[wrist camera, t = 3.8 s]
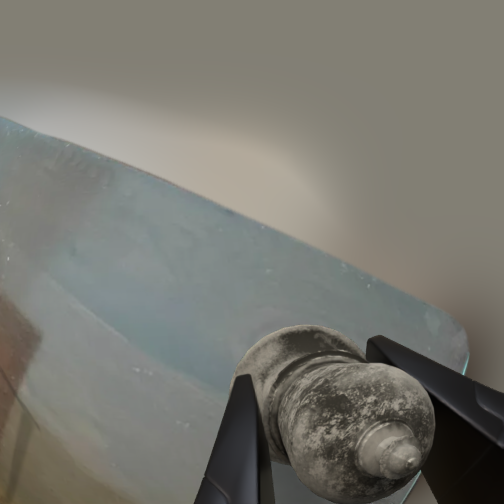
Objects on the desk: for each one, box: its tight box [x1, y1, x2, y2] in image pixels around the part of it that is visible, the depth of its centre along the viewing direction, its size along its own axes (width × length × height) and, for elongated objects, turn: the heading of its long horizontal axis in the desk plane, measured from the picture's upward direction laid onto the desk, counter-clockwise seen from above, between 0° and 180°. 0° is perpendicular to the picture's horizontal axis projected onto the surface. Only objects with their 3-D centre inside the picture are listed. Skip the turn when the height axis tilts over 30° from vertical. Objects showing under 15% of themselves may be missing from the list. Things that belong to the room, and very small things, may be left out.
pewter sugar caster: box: [229, 325, 435, 504], centre depth 8 cm, size 6×6×12 cm
